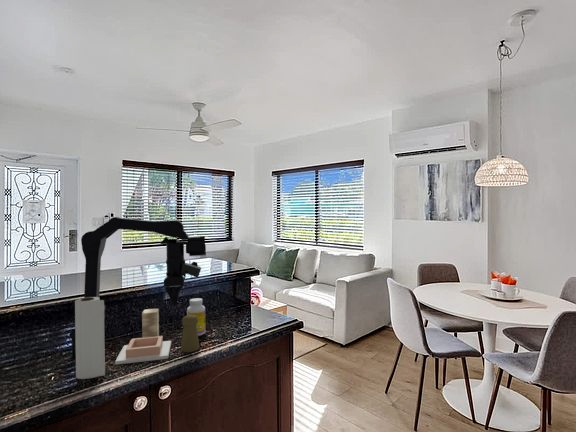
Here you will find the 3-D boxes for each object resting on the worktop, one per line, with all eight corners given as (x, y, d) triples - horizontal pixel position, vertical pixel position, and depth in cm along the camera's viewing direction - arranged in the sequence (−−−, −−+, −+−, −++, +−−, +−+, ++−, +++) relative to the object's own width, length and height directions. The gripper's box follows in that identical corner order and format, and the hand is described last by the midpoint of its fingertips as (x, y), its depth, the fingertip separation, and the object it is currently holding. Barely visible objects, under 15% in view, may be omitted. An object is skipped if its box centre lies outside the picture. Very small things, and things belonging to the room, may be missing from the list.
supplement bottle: (206, 335, 126) (206, 300, 126) (188, 338, 124) (187, 302, 124) (204, 329, 132) (203, 296, 132) (186, 332, 130) (186, 298, 130)
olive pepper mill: (194, 352, 110) (194, 318, 110) (177, 351, 112) (176, 317, 112) (202, 345, 116) (202, 313, 116) (186, 344, 118) (186, 312, 117)
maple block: (142, 341, 121) (142, 313, 121) (144, 336, 126) (144, 309, 126) (157, 340, 122) (157, 312, 122) (159, 335, 127) (158, 308, 127)
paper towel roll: (73, 374, 96) (72, 298, 96) (97, 367, 100) (96, 295, 100) (80, 383, 91) (79, 303, 91) (105, 375, 95) (103, 299, 95)
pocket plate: (115, 364, 102) (115, 352, 102) (124, 348, 115) (124, 337, 115) (168, 358, 106) (168, 347, 106) (171, 343, 119) (171, 333, 119)
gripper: (199, 258, 111) (200, 307, 111) (199, 252, 129) (199, 294, 129) (163, 260, 108) (163, 309, 108) (168, 254, 126) (168, 296, 126)
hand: (175, 301), depth 118 cm, fingers open, 9 cm apart
